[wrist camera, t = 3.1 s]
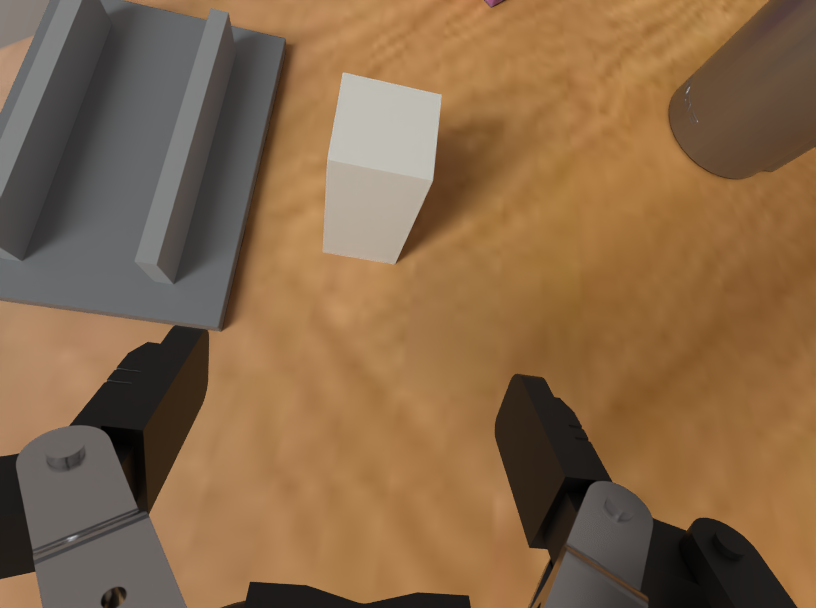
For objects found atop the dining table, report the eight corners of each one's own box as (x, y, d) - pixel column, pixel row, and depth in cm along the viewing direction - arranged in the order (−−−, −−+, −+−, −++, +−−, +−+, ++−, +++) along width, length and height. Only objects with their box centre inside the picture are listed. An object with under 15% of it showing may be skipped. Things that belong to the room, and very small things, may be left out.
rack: (286, 50, 32) (282, -2, 29) (221, 331, 26) (206, 312, 23) (64, -1, 30) (29, -64, 27) (-61, 291, 24) (-129, 264, 21)
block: (402, 201, 31) (441, 94, 22) (394, 264, 30) (433, 180, 20) (333, 187, 30) (343, 72, 21) (322, 252, 29) (327, 159, 19)
